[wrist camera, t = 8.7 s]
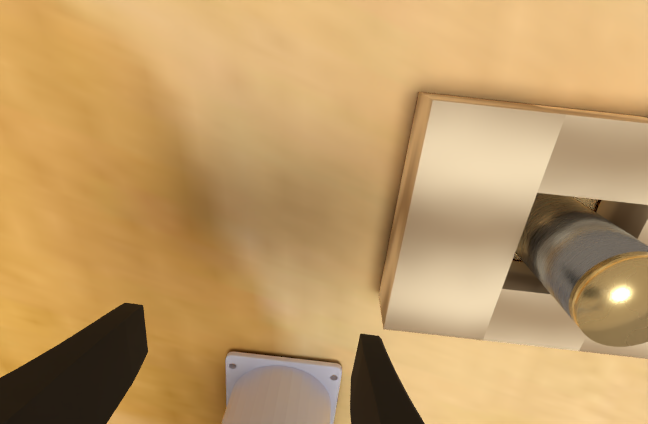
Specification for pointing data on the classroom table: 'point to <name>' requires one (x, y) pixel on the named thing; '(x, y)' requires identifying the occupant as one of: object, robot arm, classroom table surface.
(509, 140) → the block
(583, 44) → the classroom table surface
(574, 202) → the pin
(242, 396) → the robot arm
